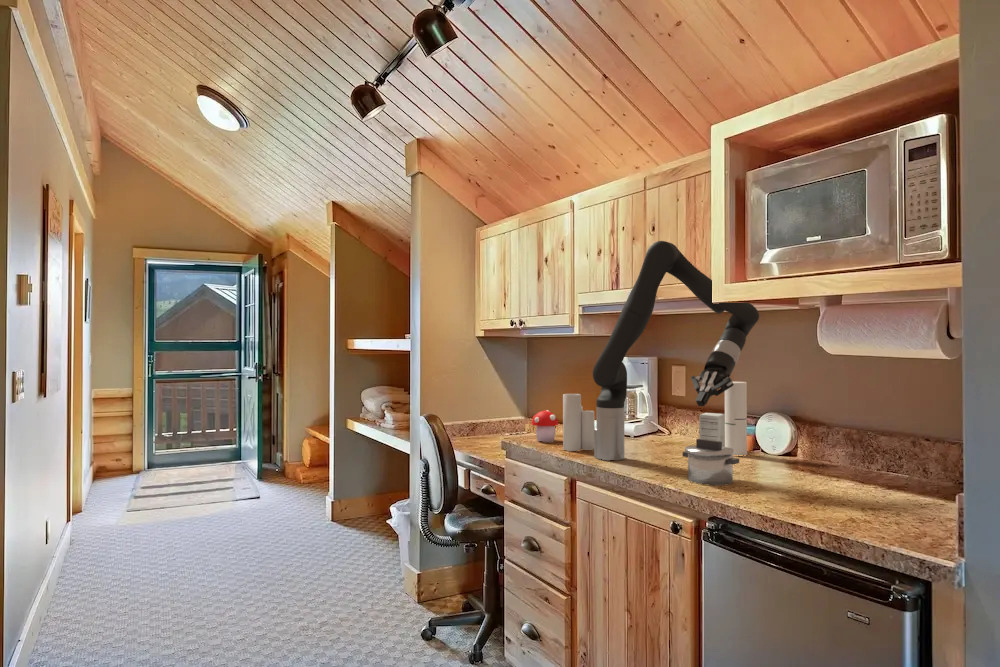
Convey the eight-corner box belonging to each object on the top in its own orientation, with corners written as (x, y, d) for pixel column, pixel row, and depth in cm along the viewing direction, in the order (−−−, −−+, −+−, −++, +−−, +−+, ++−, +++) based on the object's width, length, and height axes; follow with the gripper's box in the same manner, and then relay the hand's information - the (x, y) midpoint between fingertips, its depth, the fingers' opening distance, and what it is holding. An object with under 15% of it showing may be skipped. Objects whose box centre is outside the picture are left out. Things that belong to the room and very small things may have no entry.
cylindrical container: (748, 456, 218) (748, 383, 219) (726, 456, 220) (726, 382, 220) (745, 453, 225) (744, 381, 226) (723, 452, 227) (723, 381, 227)
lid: (675, 452, 183) (675, 440, 183) (701, 446, 191) (701, 435, 191) (717, 458, 173) (717, 445, 173) (742, 452, 181) (742, 440, 181)
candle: (567, 452, 228) (567, 395, 229) (559, 448, 235) (559, 393, 235) (596, 450, 232) (596, 394, 232) (588, 447, 239) (588, 393, 239)
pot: (673, 478, 185) (673, 450, 185) (700, 472, 194) (699, 445, 194) (725, 488, 172) (724, 458, 173) (750, 481, 181) (750, 452, 181)
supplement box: (705, 446, 240) (705, 412, 240) (725, 448, 236) (725, 413, 236) (698, 449, 234) (698, 414, 234) (719, 451, 230) (719, 415, 230)
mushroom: (550, 443, 246) (550, 412, 246) (525, 441, 252) (525, 410, 252) (563, 440, 255) (563, 409, 255) (539, 437, 261) (539, 408, 261)
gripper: (697, 349, 191) (673, 393, 182) (739, 350, 181) (716, 397, 172) (707, 367, 194) (684, 411, 186) (749, 368, 184) (726, 415, 176)
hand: (699, 404), depth 179 cm, fingers closed
